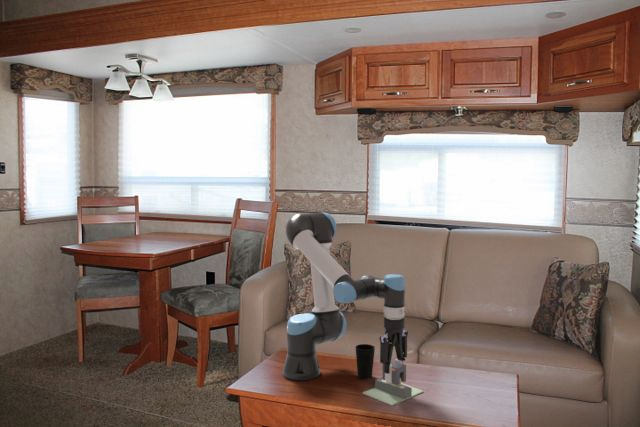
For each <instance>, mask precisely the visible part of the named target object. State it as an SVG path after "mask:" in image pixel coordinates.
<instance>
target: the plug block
mask: <svg viewBox="0 0 640 427" xmlns="http://www.w3.org/2000/svg"><path fill="white" fill-rule="evenodd" d="M391 364H392V382H391V383H393V384H396V385H398V384H400V378H401V383H405V382H407V364H404V363H403V364H401V363H397V362H395V360H394V361H393V360H391ZM382 377H383V380H385V372H384V364H383V363H382Z"/></svg>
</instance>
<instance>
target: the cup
mask: <svg viewBox="0 0 640 427" xmlns="http://www.w3.org/2000/svg"><path fill="white" fill-rule="evenodd" d="M354 347H355V357H356V358H355V359H356V370H357V371H356V372H357V378H359V379H360V380H361V379H362V380H370V379H372V378H373V369H374V360H375V359H374V358H375V349H376V347H375V345H372V344H367V343H361V344H357V345H356V346H354Z"/></svg>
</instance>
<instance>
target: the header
mask: <svg viewBox="0 0 640 427" xmlns="http://www.w3.org/2000/svg"><path fill="white" fill-rule="evenodd" d="M374 381H375V382H374V384H375V386H374V387H373V388H371V389H367V390H365V391H363V392H362V395H366V396H368V397H370V398H372V399H375V400H377V401H380V402H381V403H385V404H387V405H388V406H395V405H396V404H399V403H402V402H404V401H406V400H408V399H411V398H412V397H415V396H417V395H420V394H422V393H424V390H421V389H420V388H416V387H413V386H411V385H408V384H406V383H404V382H402V381H401V378H400V384H398V385H396V384H393V383H390V382H387V381H385V380H383V376H381V377H380V378H377V379H375V380H374Z"/></svg>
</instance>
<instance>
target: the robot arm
mask: <svg viewBox="0 0 640 427" xmlns="http://www.w3.org/2000/svg"><path fill="white" fill-rule="evenodd" d="M337 231H338V226H337V222H336V220H335V219H334V217H333V216H331V214H330V213H328V212H322V211H321V212H320V211H317V212H307V213H306V212H305V213H303V212H301V213H296V214H294V215H293V216H291V217H290V218H289V219H288V221H287V222H286V225H285V236H286V238H287V240H288V242H289V243H290V245H291V246H292V248H294V249H295V250H298V251H300V252H301V253H302V254H303V256H305V258H306V259H307V260H308V261H309V262H310V263H309V264H310V272H311V281H312V282H311V284H312V292H313V293H312V294H313V303H314V307H313V308H312V309H311V313H307V312H305V313H299V314H295V315H292V316H290V317H289V319H288V320H287V323H286V324H287V326H286V332H287V333H286V345H287V346H286V357H285V361H284V365H283V367H282V376H283V377H285V378H287V379H289V380H292V381H293V380H294V381H308V380H309V381H310V380H314V379H316V378H319V376H320V375H321V367H320V363H319V360H318V356H317V346H318V345H322V344H326V343H329V342H334V341H336V340H338V339H341V338H342V337H343V336H344V335H345V333H346V331H347V319H346V317H345V316H344V313H343V312H341V311H340V308H339V307H338V306H337V305H336V303H335V302H338V303H340V304H348V303H349V304H350V303H351V304H352V303H353V302H357V301H363V300H367V299H373V298H378V299H381V300H383V316H384V317H383V328H384V329H385V331H384V332H385V333H384V335H383V336H379V342H380V347H379V348H380V350H379V363H380V364H382V365H383V364H384V372H385V381H387V382H390V383H391V382H392V364H391V361H392V357H393V351H394V349H395V354H396V358H395V359H394V362H397V363H401V364H404V362H405V361H406V358H408V335H409V331H408V330H404V329H405V321H406V320H405V318H404V317H405V301H406V300H405V296H406V280H405V277H404V276H403V275H402V274H397V273H396V274H394V273H393V274H391V273H389V274H386V275H384V278H383V277H378V276H373V275H362V276H361V277H360V278H359V279H354V278H353V277H352V276H351V275H350V274H349V273H347V271H346V270H345V269H344V267H343V266H341V265H340V264H339V263H338V262H337V260H336V259H335V258H334V257H333V256H332V255H331V250H330V247H331V245H332V244H333V238H335V237H336V234H337Z"/></svg>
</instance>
